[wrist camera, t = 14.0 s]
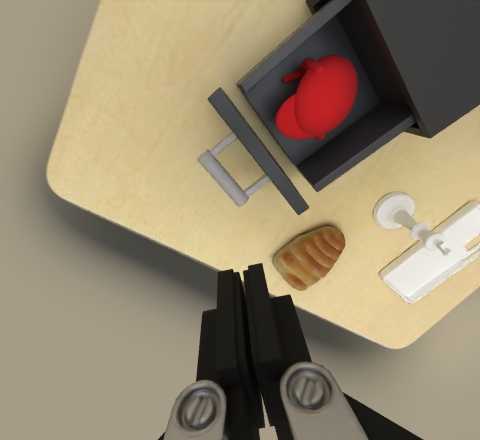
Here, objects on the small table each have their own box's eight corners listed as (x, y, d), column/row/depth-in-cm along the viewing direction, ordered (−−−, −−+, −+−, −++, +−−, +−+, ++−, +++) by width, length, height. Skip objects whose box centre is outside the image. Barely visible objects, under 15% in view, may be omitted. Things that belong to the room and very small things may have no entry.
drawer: (252, 209, 33) (260, 242, 26) (179, 123, 29) (165, 136, 22) (388, 108, 29) (441, 116, 22) (328, -11, 24) (370, -49, 17)
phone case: (473, 198, 35) (376, 273, 40) (482, 202, 34) (381, 279, 38) (499, 231, 38) (405, 298, 42) (508, 236, 36) (410, 305, 41)
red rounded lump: (315, 37, 25) (341, 24, 20) (356, 86, 27) (390, 86, 22) (255, 109, 27) (263, 115, 22) (296, 149, 29) (313, 164, 24)
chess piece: (382, 234, 37) (434, 282, 28) (366, 207, 35) (415, 250, 26) (418, 213, 36) (483, 256, 27) (403, 184, 34) (467, 220, 25)
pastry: (320, 210, 35) (331, 224, 31) (352, 241, 37) (365, 257, 34) (266, 258, 37) (271, 275, 34) (299, 284, 40) (306, 303, 36)
